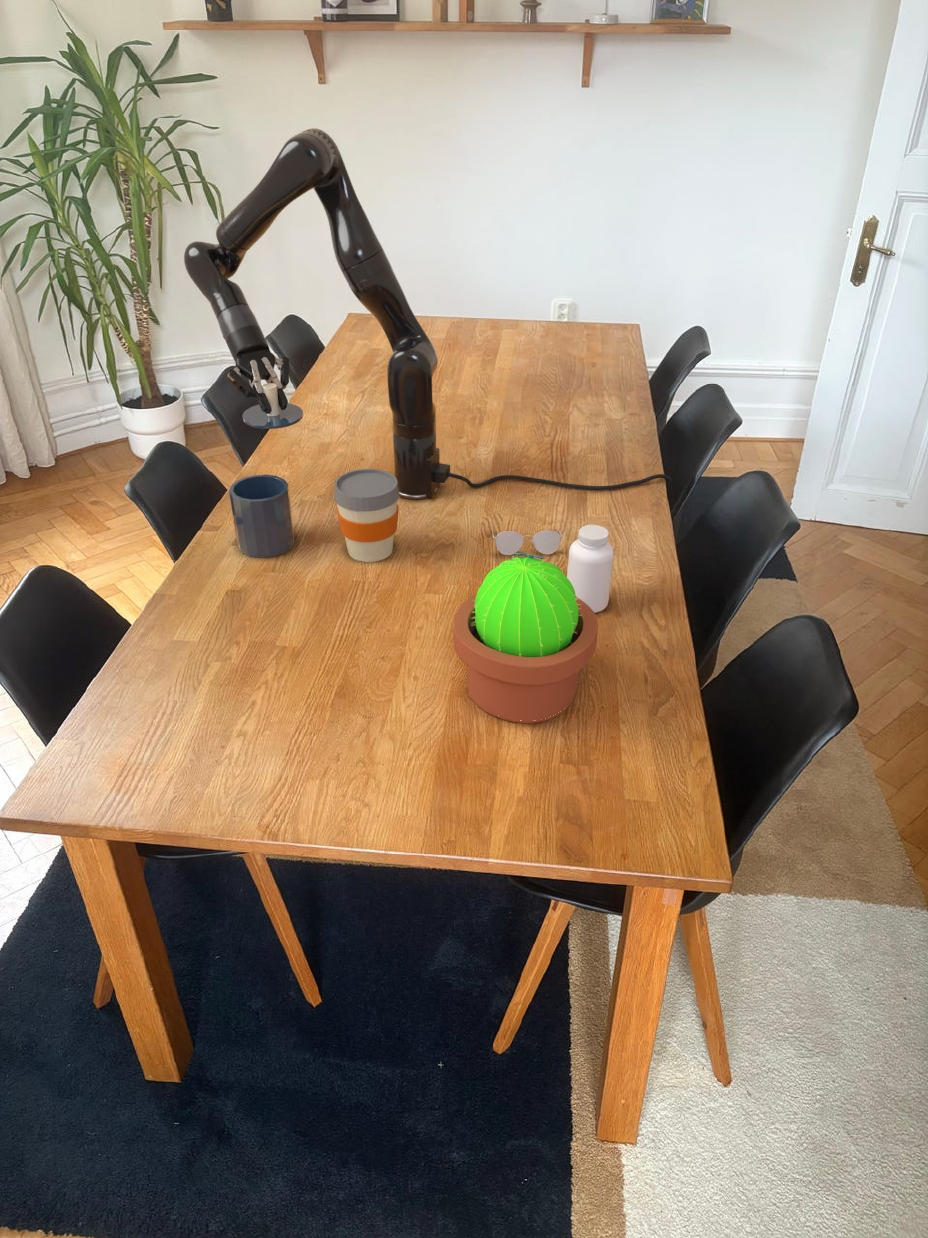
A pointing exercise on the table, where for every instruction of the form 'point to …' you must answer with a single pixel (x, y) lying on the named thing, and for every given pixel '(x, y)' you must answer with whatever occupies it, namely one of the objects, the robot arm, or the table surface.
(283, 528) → the blue handleless cup
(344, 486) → the reusable coffee cup
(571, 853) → the table surface
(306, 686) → the table surface
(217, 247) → the robot arm
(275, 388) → the lid
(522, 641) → the potted cactus
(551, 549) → the sunglasses
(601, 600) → the pill bottle
